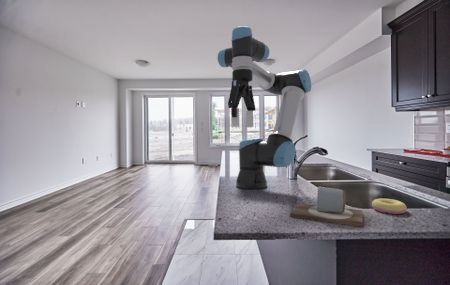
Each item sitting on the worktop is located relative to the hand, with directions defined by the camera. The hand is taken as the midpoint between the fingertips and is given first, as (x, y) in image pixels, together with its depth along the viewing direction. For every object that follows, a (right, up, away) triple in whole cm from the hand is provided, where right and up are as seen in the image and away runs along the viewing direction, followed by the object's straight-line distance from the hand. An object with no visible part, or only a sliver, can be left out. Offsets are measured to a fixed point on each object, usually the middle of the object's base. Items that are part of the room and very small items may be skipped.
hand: (243, 127), depth 97 cm
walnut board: (+25, -29, -16) cm, 42 cm away
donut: (+48, -29, -12) cm, 57 cm away
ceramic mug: (+27, -28, -15) cm, 41 cm away
